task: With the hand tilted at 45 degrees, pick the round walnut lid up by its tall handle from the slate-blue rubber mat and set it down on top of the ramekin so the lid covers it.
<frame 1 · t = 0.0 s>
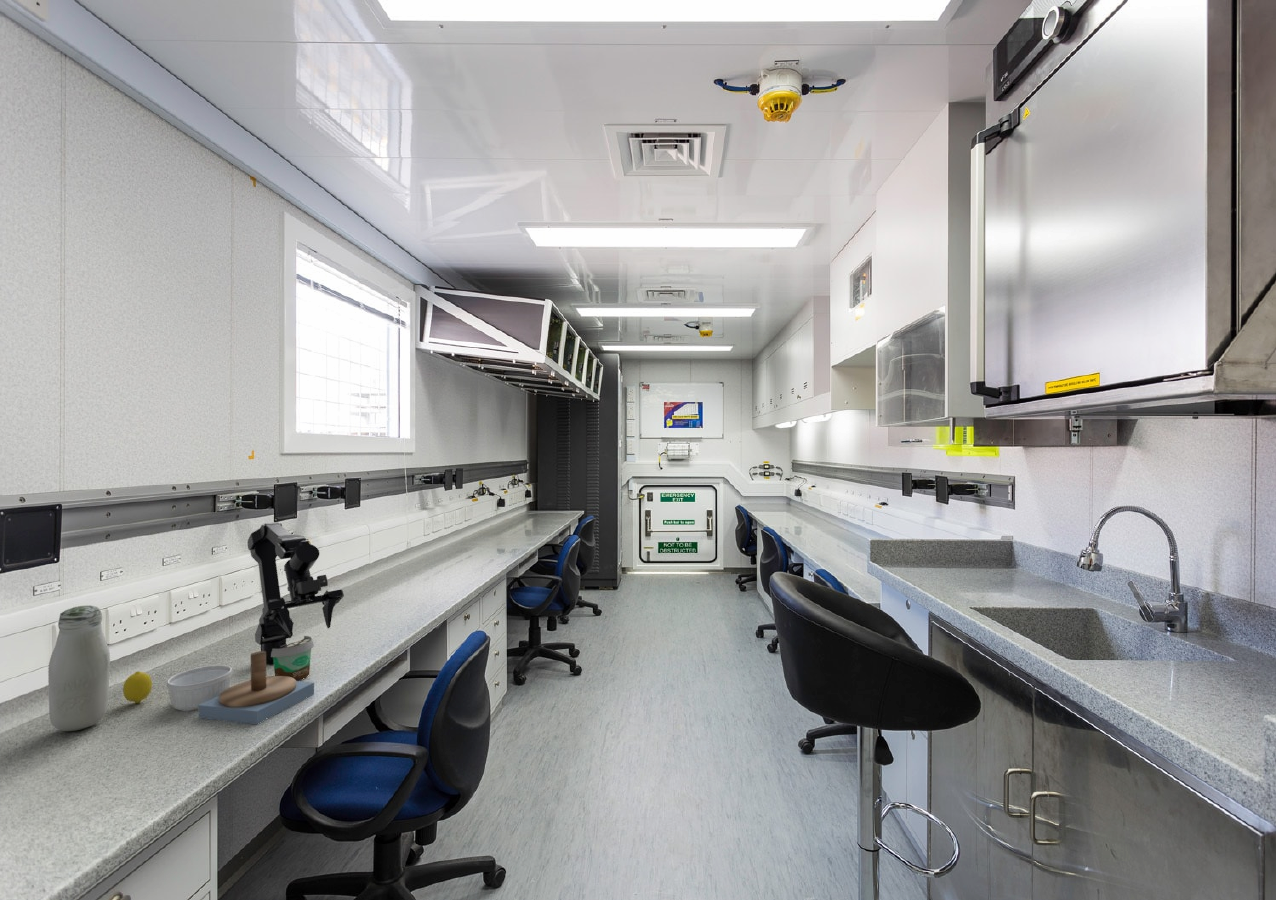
hand: (310, 631, 154), 15 cm above the lab bench, tool tilted 35°, fingers open, 9 cm apart
mat: (258, 705, 143), on the lab bench
glass bottle: (80, 728, 132), on the lab bench
lemon: (137, 703, 145), on the lab bench
ramekin: (200, 702, 146), on the lab bench
lid: (258, 693, 143), point 3 cm above the lab bench, touching mat
food container: (298, 678, 160), on the lab bench
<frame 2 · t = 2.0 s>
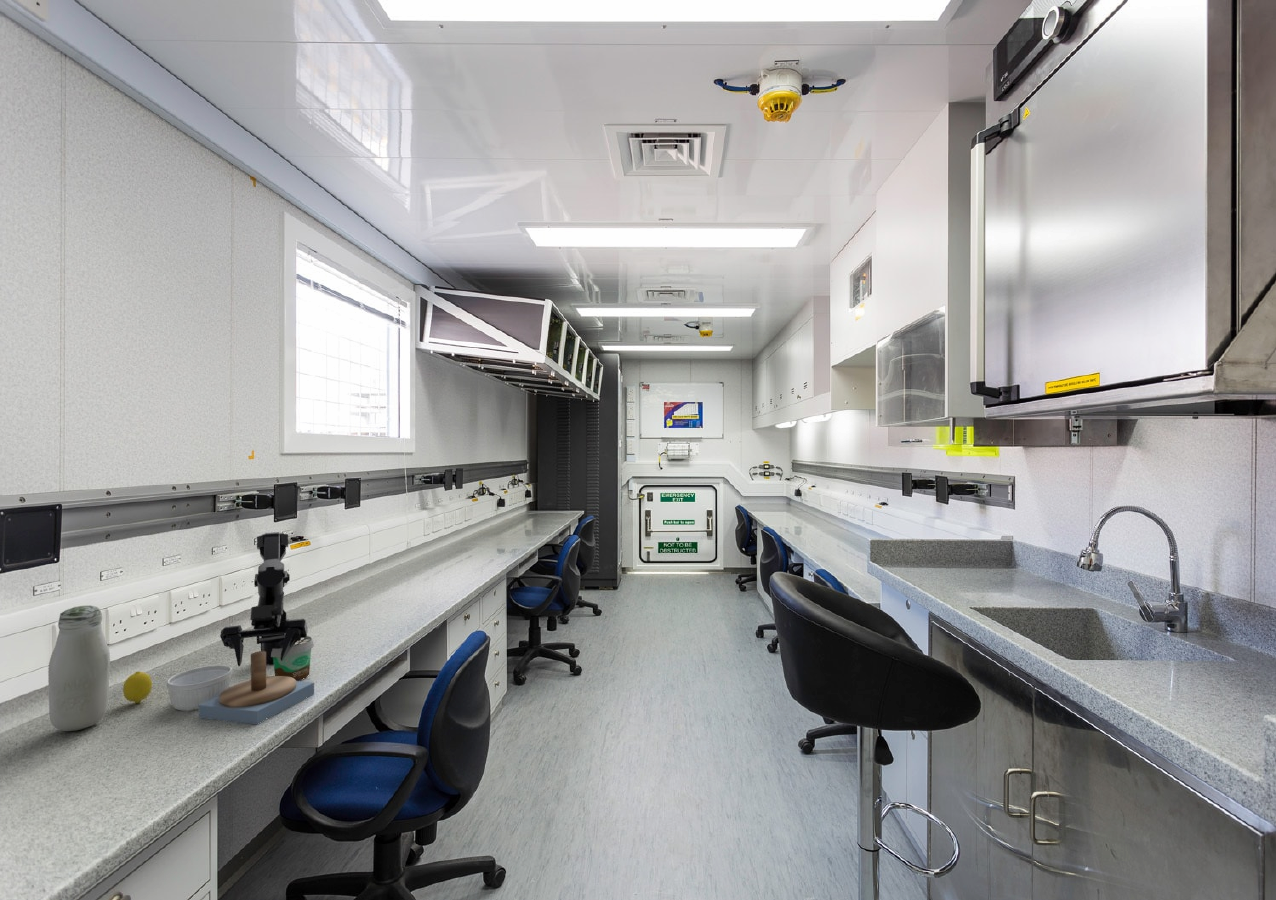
hand: (260, 662, 145), 10 cm above the lab bench, tool tilted 45°, fingers open, 9 cm apart
nothing on the lab bench moved.
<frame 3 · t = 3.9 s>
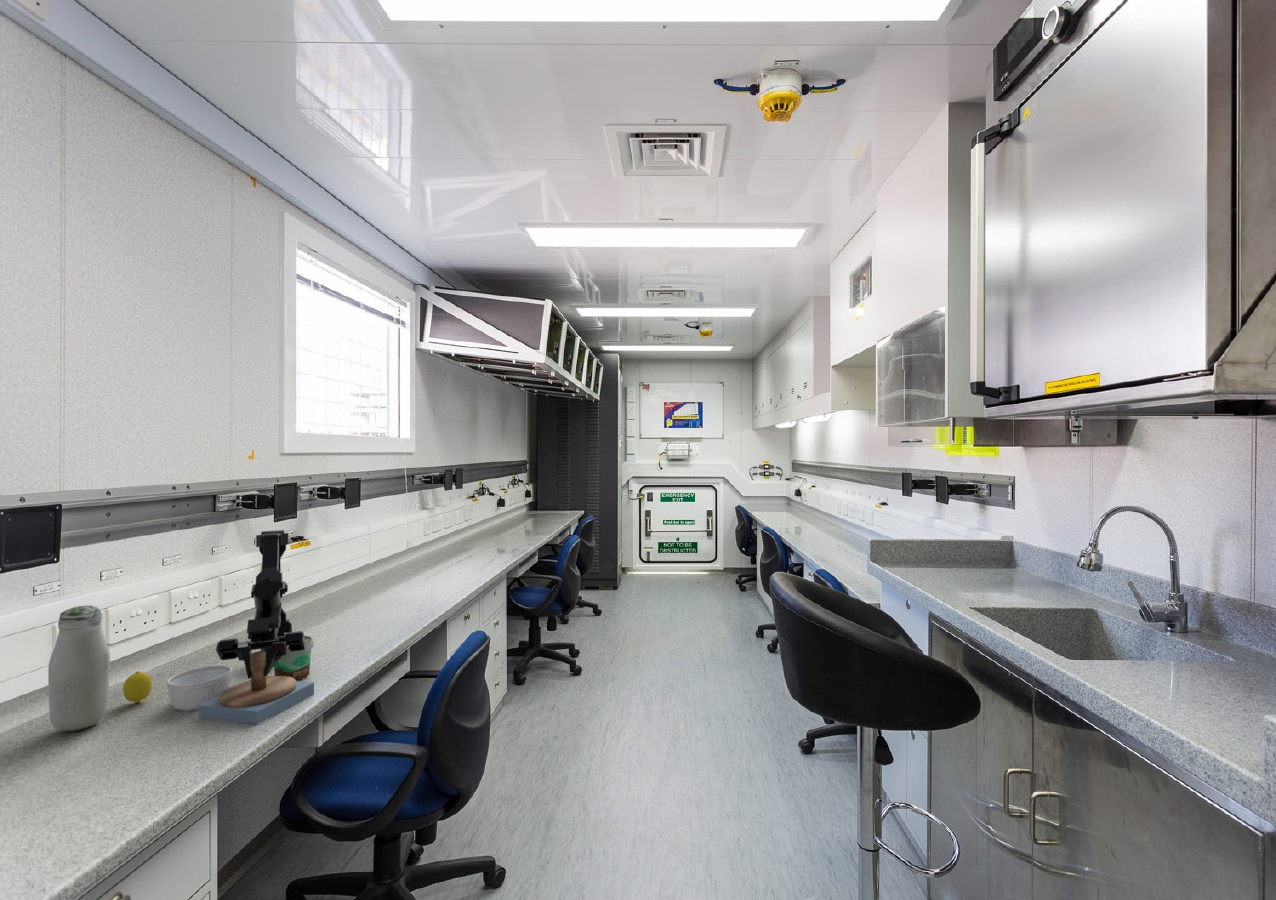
hand: (257, 677, 142), 8 cm above the lab bench, tool tilted 45°, fingers closed on lid, 3 cm apart
lid: (258, 693, 143), point 3 cm above the lab bench, touching gripper, mat
everything else where it was.
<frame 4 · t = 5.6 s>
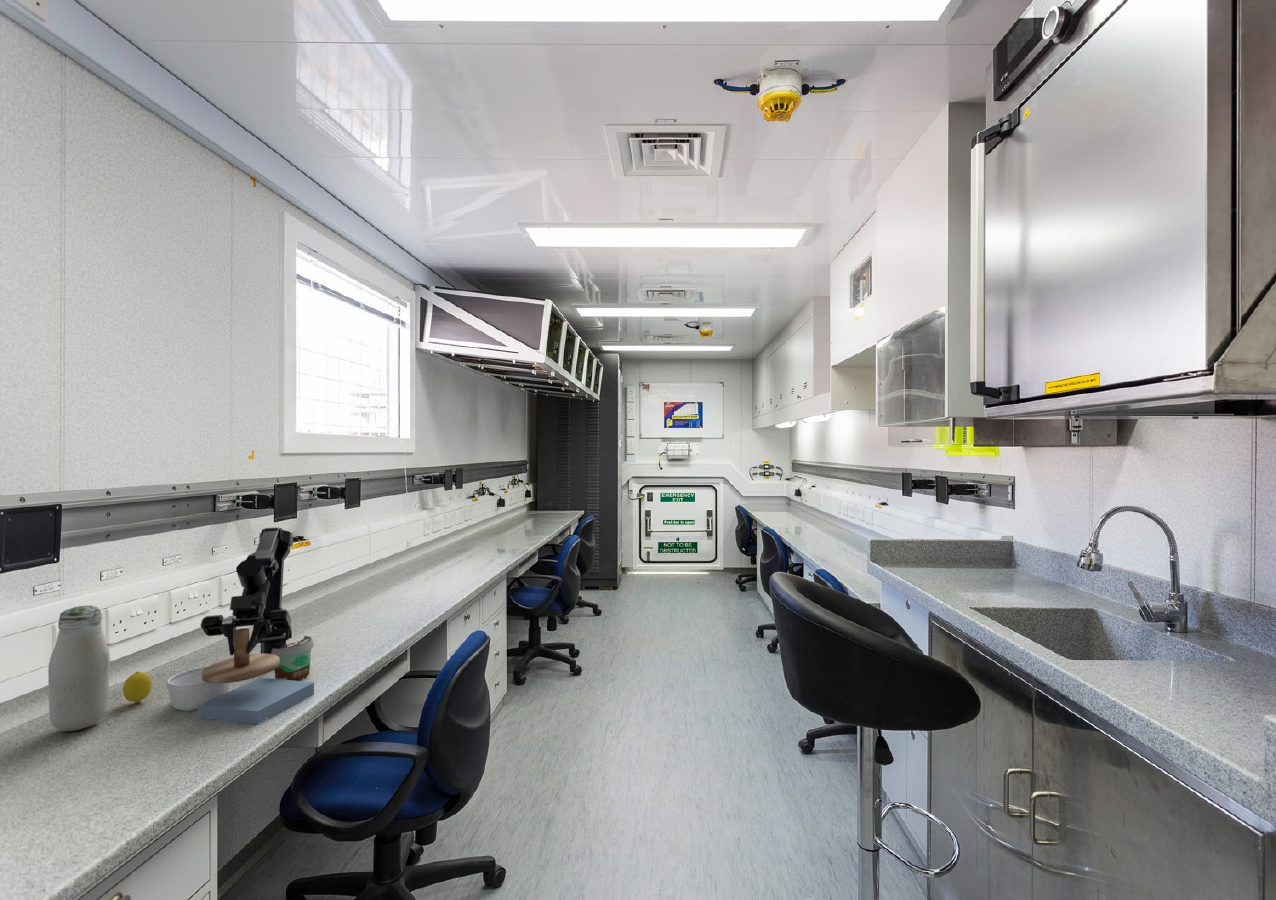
hand: (239, 653, 142), 13 cm above the lab bench, tool tilted 45°, fingers closed on lid, 3 cm apart
lid: (241, 670, 143), point 9 cm above the lab bench, touching gripper
everything else where it was.
when the fingers open (12 cm above the lab bench, at t = 7.3 s): lid drops 1 cm, resting on ramekin.
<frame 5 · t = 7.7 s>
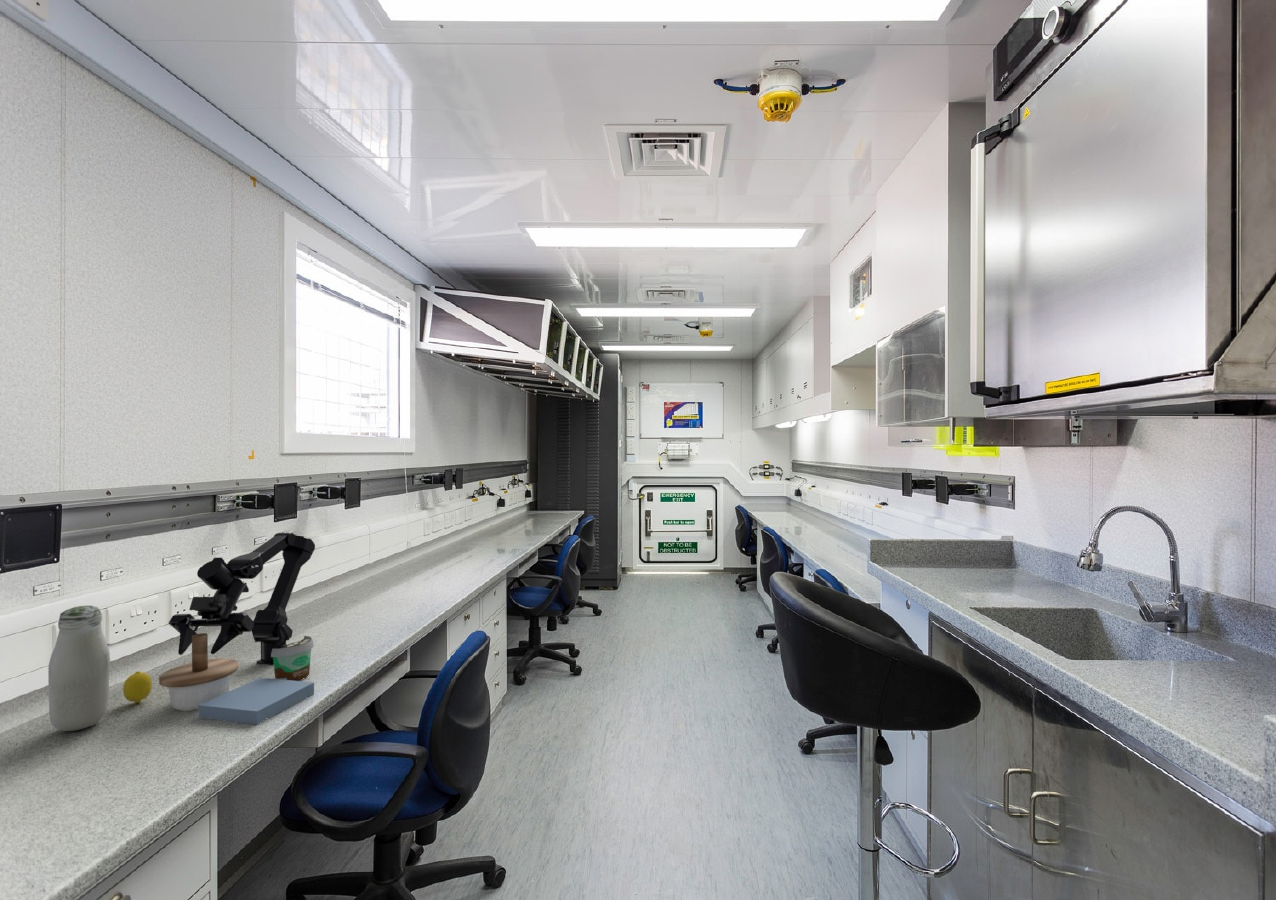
hand: (195, 653, 144), 13 cm above the lab bench, tool tilted 45°, fingers open, 8 cm apart
ramekin: (200, 702, 146), on the lab bench, touching lid
lid: (200, 674, 146), point 7 cm above the lab bench, touching ramekin
everything else where it was.
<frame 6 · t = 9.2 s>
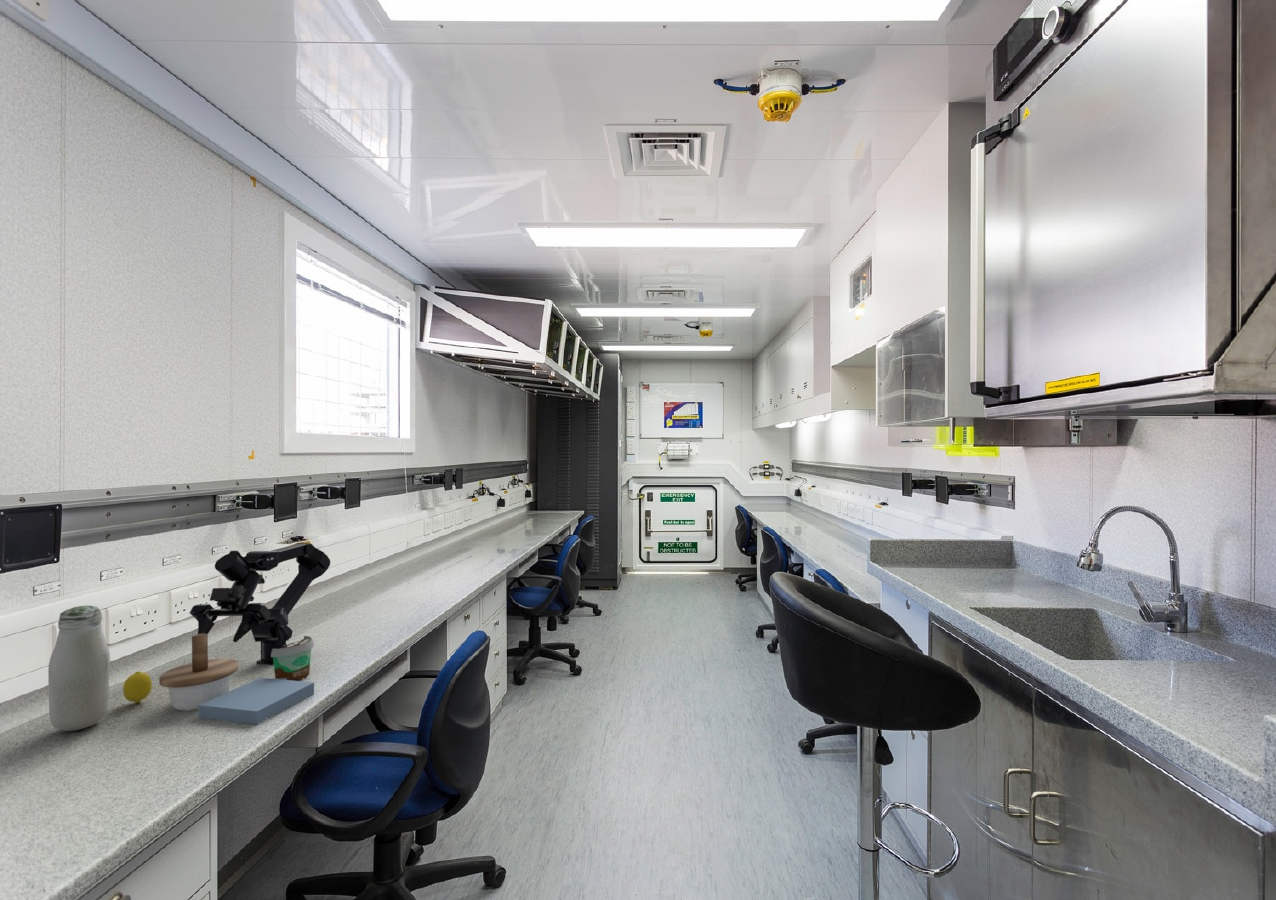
hand: (216, 642, 152), 13 cm above the lab bench, tool tilted 45°, fingers open, 9 cm apart
nothing on the lab bench moved.
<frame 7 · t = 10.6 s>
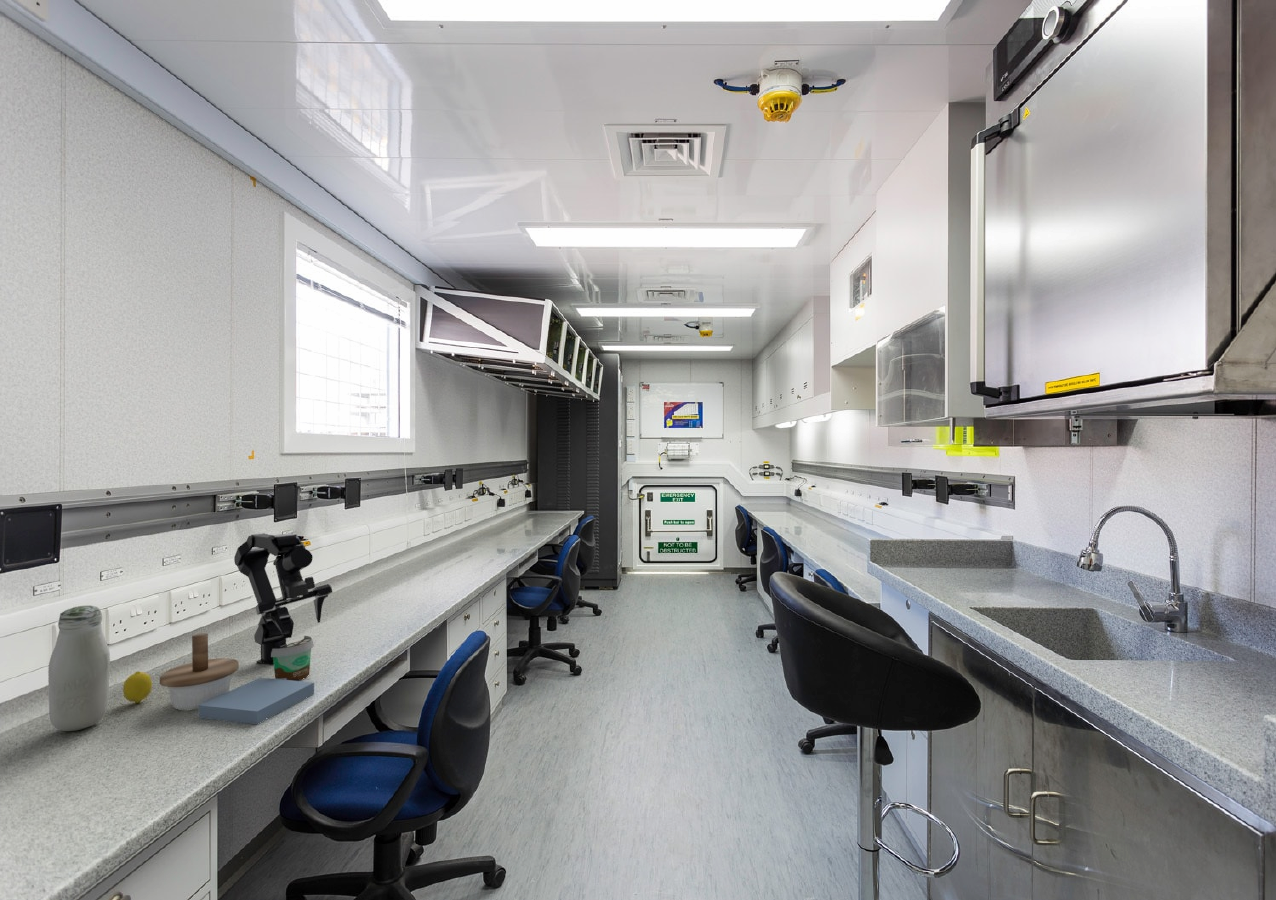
hand: (301, 627, 166), 12 cm above the lab bench, tool tilted 20°, fingers open, 9 cm apart
nothing on the lab bench moved.
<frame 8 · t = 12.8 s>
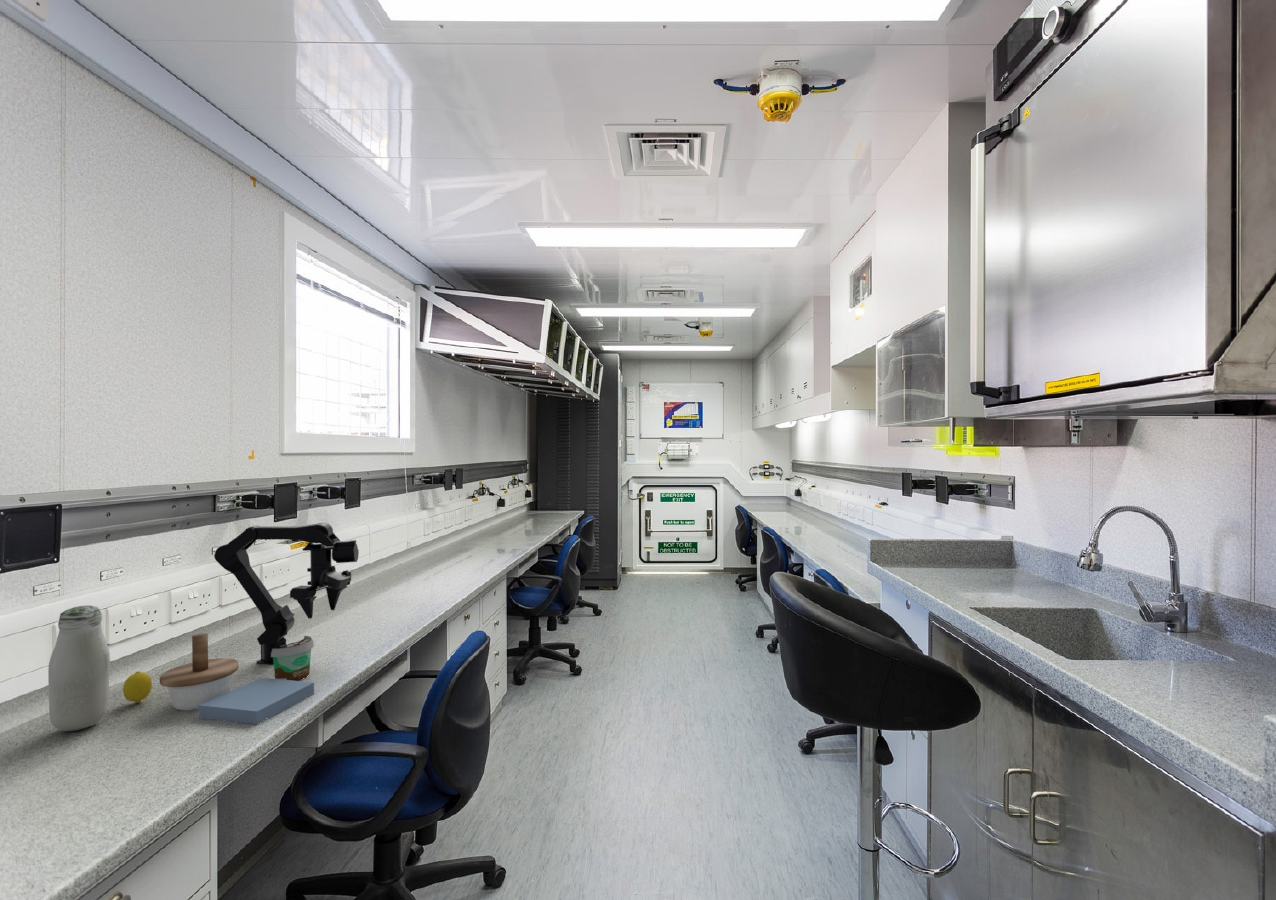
hand: (321, 614, 178), 13 cm above the lab bench, tool pointing down, fingers open, 9 cm apart
nothing on the lab bench moved.
at the end: lid 0.1 cm from the ramekin (horizontally); lid point 6.8 cm above the lab bench; lid tilted 0° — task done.
